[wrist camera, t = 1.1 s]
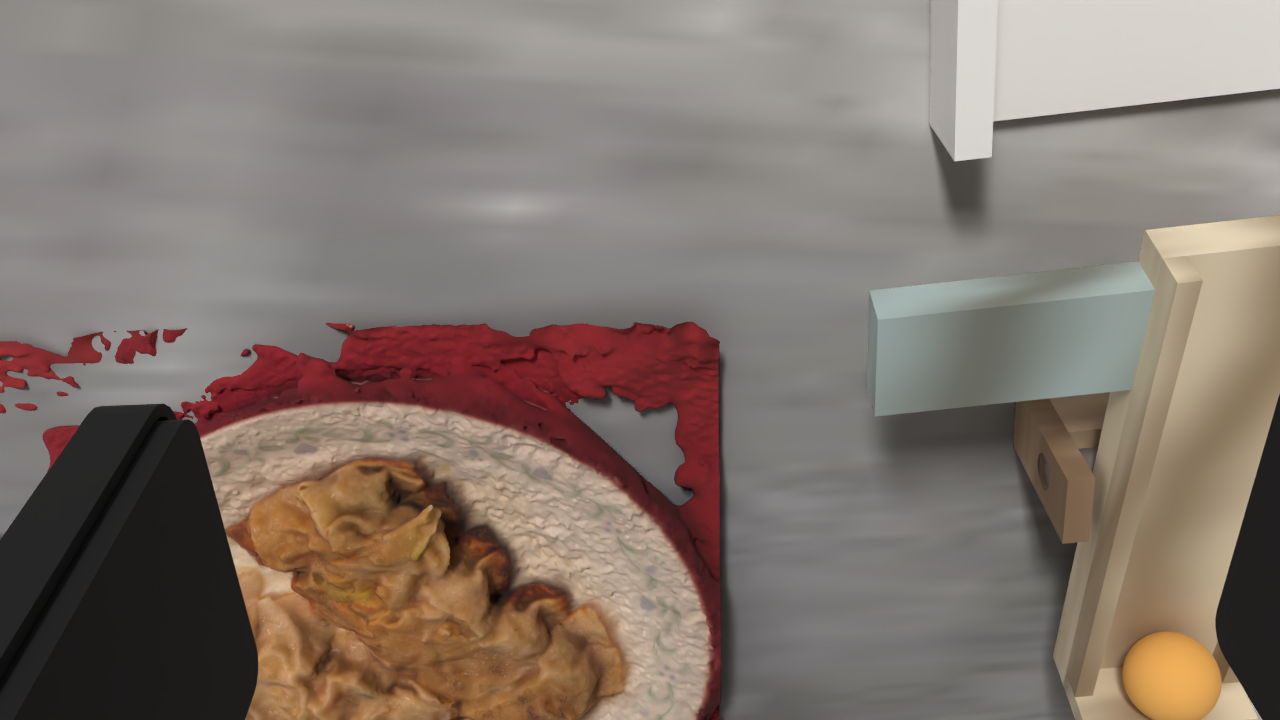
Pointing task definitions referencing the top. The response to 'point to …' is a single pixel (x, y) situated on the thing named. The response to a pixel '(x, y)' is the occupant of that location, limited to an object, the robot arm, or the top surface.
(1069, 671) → the lever
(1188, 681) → the ball
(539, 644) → the plate with food
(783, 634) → the top surface
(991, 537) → the top surface
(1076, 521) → the fulcrum
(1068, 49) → the dish
